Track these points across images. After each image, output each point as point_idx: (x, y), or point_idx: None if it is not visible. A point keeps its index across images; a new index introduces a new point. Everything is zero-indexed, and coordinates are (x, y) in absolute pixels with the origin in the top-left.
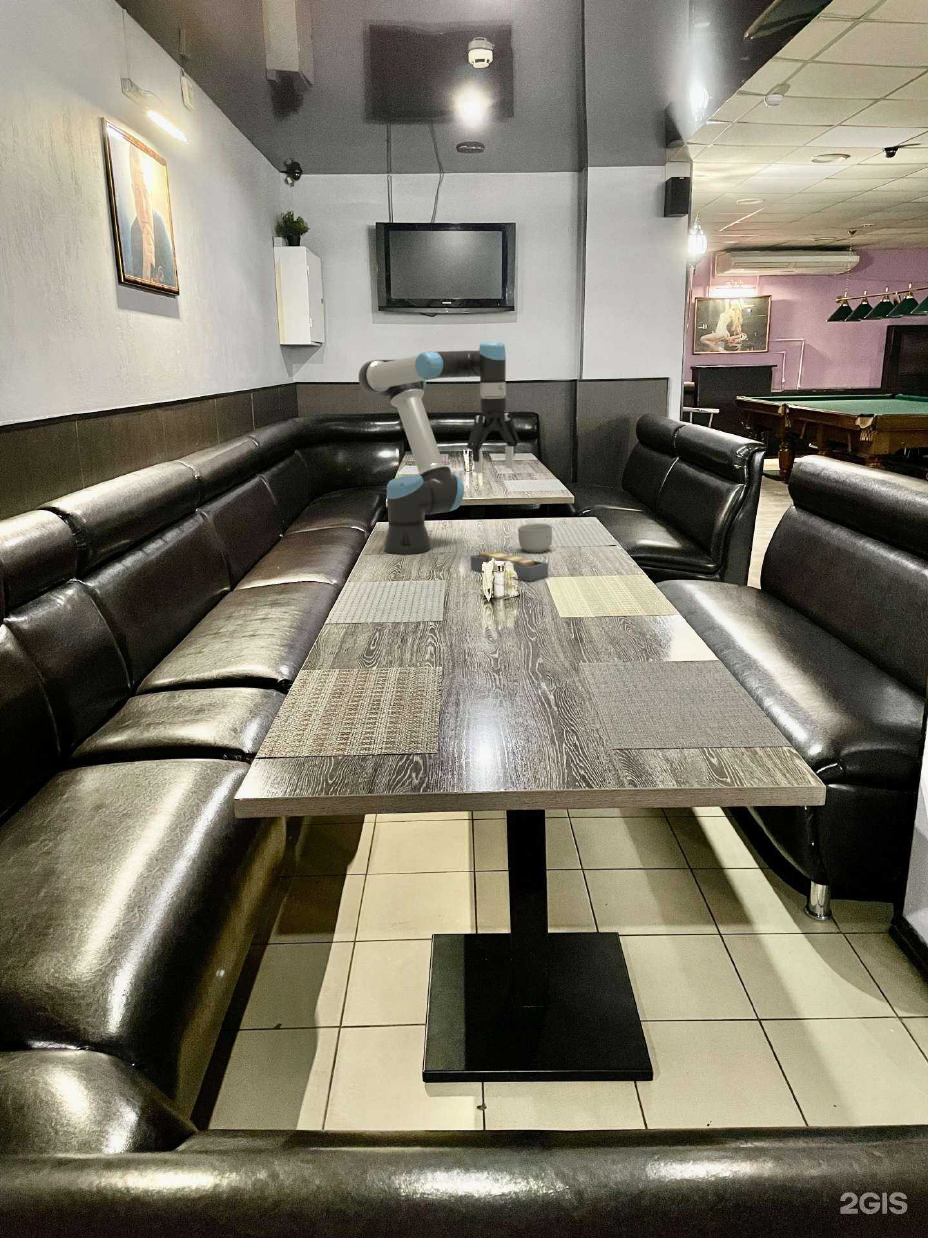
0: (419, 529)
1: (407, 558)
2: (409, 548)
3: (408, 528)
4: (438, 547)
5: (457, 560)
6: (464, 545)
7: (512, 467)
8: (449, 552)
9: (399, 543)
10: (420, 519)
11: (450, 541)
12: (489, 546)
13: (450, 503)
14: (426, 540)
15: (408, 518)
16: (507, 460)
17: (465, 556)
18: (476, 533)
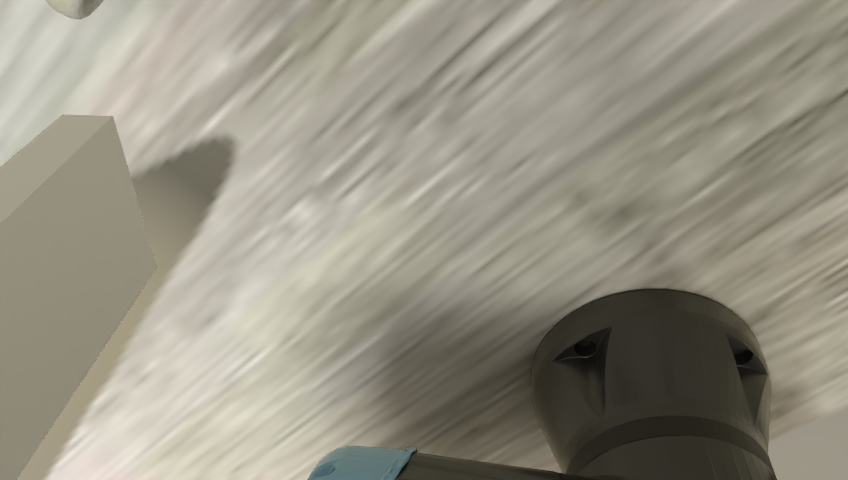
0: (676, 394)
1: (817, 265)
2: (739, 330)
3: (742, 423)
4: (518, 308)
5: (736, 26)
6: (400, 248)
7: (90, 123)
8: (580, 200)
9: (765, 382)
10: (671, 441)
11: (380, 345)
12: (325, 136)
13: (429, 469)
14: (630, 334)
15: (757, 470)
16: (74, 318)
17: (615, 65)
18: (175, 362)
